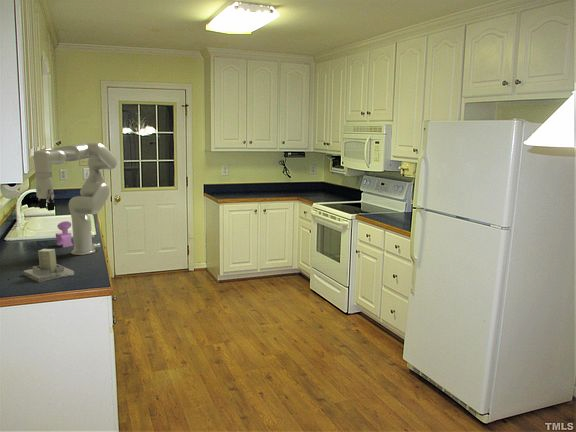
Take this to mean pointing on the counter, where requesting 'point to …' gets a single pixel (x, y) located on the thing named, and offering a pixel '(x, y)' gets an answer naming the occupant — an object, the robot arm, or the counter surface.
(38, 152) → the robot arm
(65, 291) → the counter surface
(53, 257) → the skincare box
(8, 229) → the counter surface
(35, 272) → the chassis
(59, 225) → the toy chair
